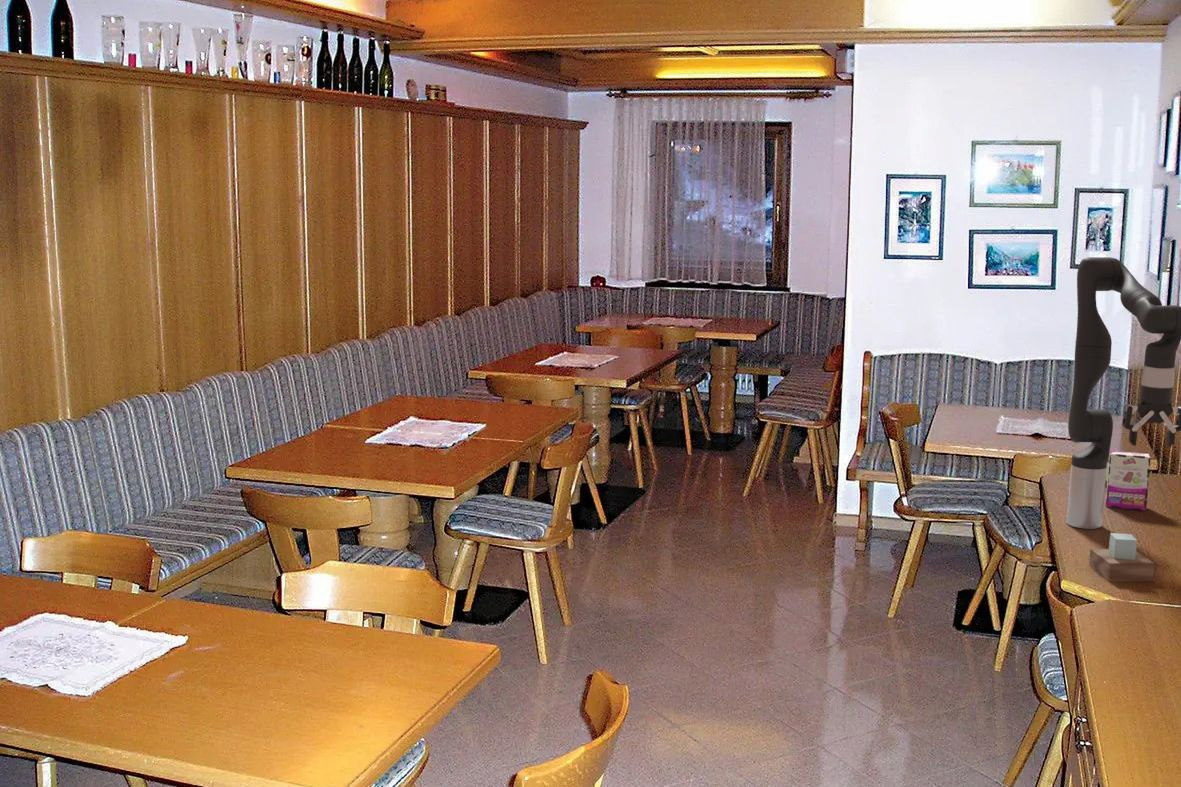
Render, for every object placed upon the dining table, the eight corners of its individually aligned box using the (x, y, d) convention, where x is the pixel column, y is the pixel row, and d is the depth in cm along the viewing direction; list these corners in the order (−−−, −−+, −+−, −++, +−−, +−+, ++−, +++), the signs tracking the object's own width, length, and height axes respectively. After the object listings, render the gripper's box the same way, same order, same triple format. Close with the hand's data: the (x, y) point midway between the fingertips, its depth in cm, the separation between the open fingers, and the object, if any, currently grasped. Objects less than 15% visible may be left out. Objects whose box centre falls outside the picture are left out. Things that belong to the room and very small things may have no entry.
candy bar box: (1145, 506, 358) (1150, 453, 355) (1146, 511, 354) (1151, 457, 350) (1104, 502, 362) (1109, 449, 359) (1105, 507, 358) (1110, 453, 355)
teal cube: (1108, 552, 301) (1110, 533, 300) (1129, 553, 300) (1131, 534, 300) (1113, 558, 296) (1115, 539, 295) (1135, 559, 296) (1137, 540, 295)
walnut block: (1088, 567, 305) (1090, 549, 304) (1131, 567, 305) (1133, 548, 304) (1108, 582, 294) (1110, 563, 293) (1152, 582, 294) (1154, 563, 293)
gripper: (1182, 381, 307) (1175, 443, 310) (1123, 379, 309) (1117, 441, 312) (1192, 387, 300) (1185, 450, 303) (1131, 385, 302) (1125, 448, 305)
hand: (1150, 445), depth 308 cm, fingers open, 8 cm apart
